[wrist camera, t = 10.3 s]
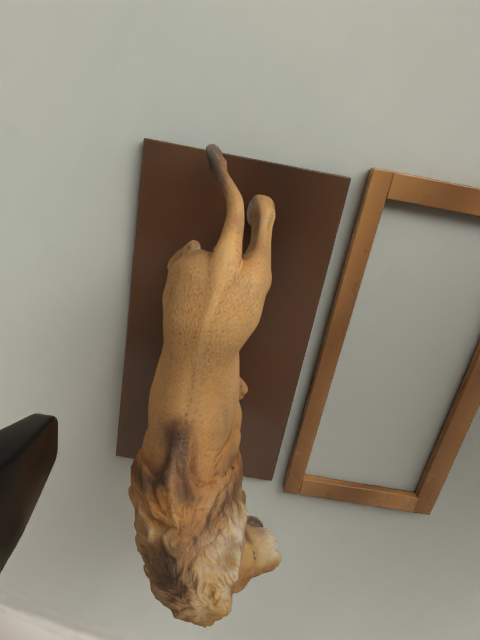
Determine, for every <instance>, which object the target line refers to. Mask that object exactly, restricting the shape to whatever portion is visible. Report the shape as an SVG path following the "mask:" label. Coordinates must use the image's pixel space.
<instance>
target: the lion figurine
mask: <svg viewBox="0 0 480 640" xmlns="http://www.w3.org/2000/svg"><path fill="white" fill-rule="evenodd" d="M206 154H207V158H208V162H209V171H210V174H211V176H212V177H213V179H214V180H215V181H216V182H217V184H218V185H219V187H220V188H221V190H222V192H223V194H224V196H225V199H226V205H227V215H226V219H225V223H224V226H223V229H222V233H221V236H220V238H219V241H218V243H217V245H216V246H215V247H214V249H213V251H212V252H208V251H206V250H202V249H201V248H200V244H199V242H197V241H195V240H192V241H190V242H188V244H186V245H185V246H184V247H183V248H182V249H180V250H178V251H177V252H176V253H175V254H174V255H173V256H172V257H171V258H170V260H169V262H168V265H167V268H168V275H167V282H166V285H165V289H164V292H163V298H162V303H163V336H164V344H163V349H162V353H161V356H160V359H159V362H158V365H157V369H156V373H155V376H154V380H153V383H152V386H151V390H150V395H149V405H148V428H147V430H146V433H145V436H144V439H143V445H142V447H141V448H140V450H139V451H138V453H137V455H136V457H135V459H134V462H133V464H132V466H131V486H130V487H129V490H128V493H129V497H130V500H131V502H132V504H133V506H134V508H135V522H134V527H135V529H136V532H137V534H136V536H135V541H136V545H137V550H138V552H139V553H140V554H141V555H142V558H143V561H144V563H145V565H144V572H145V574H146V576H147V577H148V578H149V580H150V587H151V591H152V593H153V595H154V596H155V598H156V599H157V600H158V601H160V602H161V603H162V604H163V605H164V606H166V607H167V608H169V609H170V610H171V611H172V614H173V616H174V618H176V619H180V620H183V621H186V622H192V623H193V624H195V625H199V626H202V627H205V628H206V626H212V625H213V624H214V622H215V621H217V620H221V619H222V618H223V617H225V616H227V615H228V614H229V613H230V611H231V606H232V594H233V593H238V592H240V591H241V590H243V589H244V588H245V586H246V585H247V583H248V582H249V580H250V579H251V578H253V577H256V576H258V575H260V574H263V573H266V572H270V571H273V570H274V569H275V568H276V567H277V566H278V565H279V564H280V562H281V554H280V552H279V551H278V549H277V541H276V539H275V537H274V535H273V534H272V533H271V531H270V530H269V529H268V528H265V527H263V524H262V521H261V520H260V519H259V518H258V517H255V516H247V509H246V506H245V501H246V495H245V492H244V491H243V490H242V476H243V463H242V456H241V453H240V451H239V444H240V439H241V433H240V428H241V421H242V411H241V407H240V403H239V400H241V399H242V398H243V397H244V395H245V394H246V393H247V392H248V387H247V385H246V384H245V382H244V381H243V380H242V379H241V378H240V377H239V351H240V349H241V348H242V346H243V345H244V344H245V342H246V341H247V339H248V338H249V337H250V335H251V334H252V333H253V331H254V330H255V328H256V327H257V325H258V323H259V321H260V317H261V313H262V310H263V305H264V301H265V297H266V294H267V292H268V291H269V289H270V286H271V282H272V274H271V237H272V227H273V224H274V220H275V205H274V202H273V201H272V199H271V198H270V197H267V196H265V195H255V196H254V197H253V198H252V199H251V201H250V203H249V205H248V209H247V221H248V223H249V224H250V225H251V241H250V244H249V246H248V248H247V250H246V252H245V254H244V255H243V256H242V240H243V231H244V203H243V199H242V196H241V194H240V192H239V190H238V189H237V187H236V185H235V184H234V182H233V180H232V179H231V178H230V176H229V174H228V172H227V161H226V160H225V158H224V157H223V155H222V152H221V150H220V149H219V147H218V146H216V145H215V144H209V145H208V146H207V147H206Z"/></svg>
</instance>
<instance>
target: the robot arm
mask: <svg viewBox="0 0 480 640" xmlns="http://www.w3.org/2000/svg"><path fill="white" fill-rule="evenodd" d="M57 450H58V421H57V418H56V417H55V416H51V415H44V414H37V413H36V414H33V415H30V416H28V417H26V418H24V419H22V420H20V421H18V422H16V423H14V424H12V425H10V426H8V427H6V428H3V429H1V430H0V573H1V571H2V570H3V568H4V566H5V564H6V563H7V561H8V559H9V557H10V556H11V554H12V552H13V551H14V549H15V547H16V545H17V543H18V542H19V540H20V538H21V536H22V534H23V532H24V530H25V528H26V526H27V523H28V521H29V519H30V517H31V514H32V512H33V510H34V508H35V505H36V503H37V501H38V499H39V497H40V494H41V492H42V490H43V488H44V485H45V483H46V481H47V479H48V476H49V474H50V472H51V470H52V467H53V465H54V463H55V460H56V456H57Z"/></svg>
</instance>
